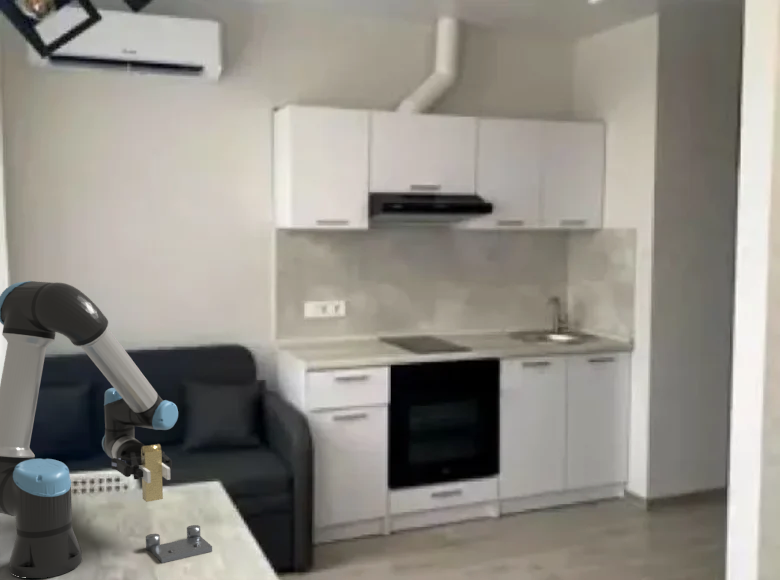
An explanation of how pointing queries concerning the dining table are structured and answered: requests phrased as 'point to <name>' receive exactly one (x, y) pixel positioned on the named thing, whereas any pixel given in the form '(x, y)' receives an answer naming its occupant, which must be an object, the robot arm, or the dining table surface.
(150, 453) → the brass rectangular post
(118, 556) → the dining table surface
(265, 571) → the dining table surface
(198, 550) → the fixed leaf
